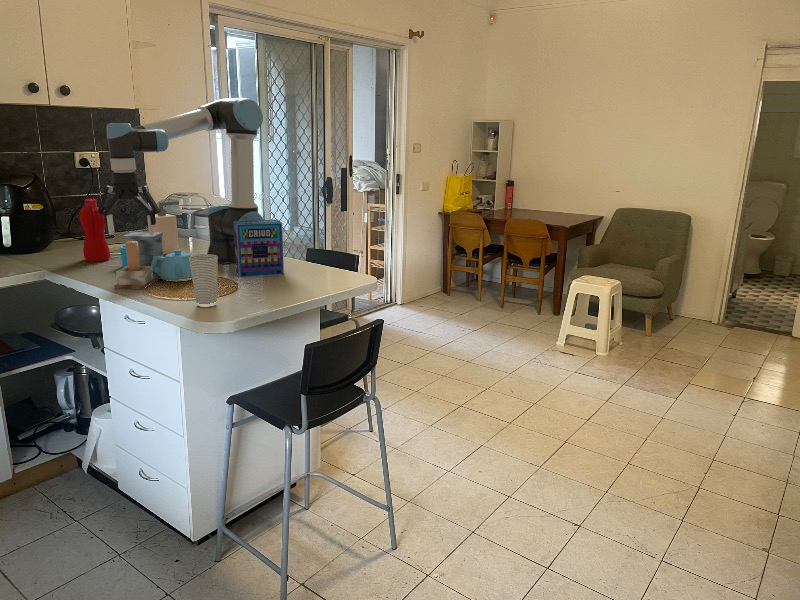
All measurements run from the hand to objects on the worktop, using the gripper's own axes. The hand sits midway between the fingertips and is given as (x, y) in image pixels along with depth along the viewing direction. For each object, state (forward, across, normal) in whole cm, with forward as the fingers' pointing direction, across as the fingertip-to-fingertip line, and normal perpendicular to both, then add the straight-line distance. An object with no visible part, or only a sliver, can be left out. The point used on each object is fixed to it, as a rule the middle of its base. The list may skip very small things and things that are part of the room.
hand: (131, 234), depth 204 cm
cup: (+18, -31, +24) cm, 43 cm away
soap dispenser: (+19, +10, -59) cm, 63 cm away
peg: (+17, +1, 0) cm, 17 cm away
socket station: (+18, 0, -4) cm, 18 cm away
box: (+19, -39, -19) cm, 47 cm away
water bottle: (+18, +32, -38) cm, 53 cm away
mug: (+18, +12, -30) cm, 37 cm away
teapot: (+18, -12, -10) cm, 24 cm away
